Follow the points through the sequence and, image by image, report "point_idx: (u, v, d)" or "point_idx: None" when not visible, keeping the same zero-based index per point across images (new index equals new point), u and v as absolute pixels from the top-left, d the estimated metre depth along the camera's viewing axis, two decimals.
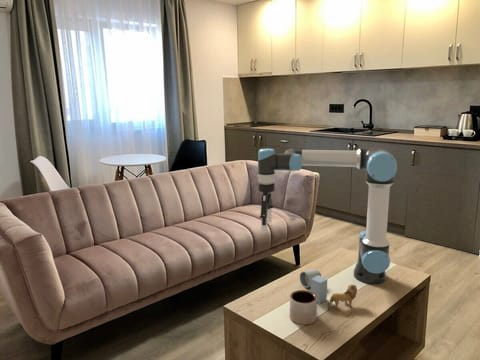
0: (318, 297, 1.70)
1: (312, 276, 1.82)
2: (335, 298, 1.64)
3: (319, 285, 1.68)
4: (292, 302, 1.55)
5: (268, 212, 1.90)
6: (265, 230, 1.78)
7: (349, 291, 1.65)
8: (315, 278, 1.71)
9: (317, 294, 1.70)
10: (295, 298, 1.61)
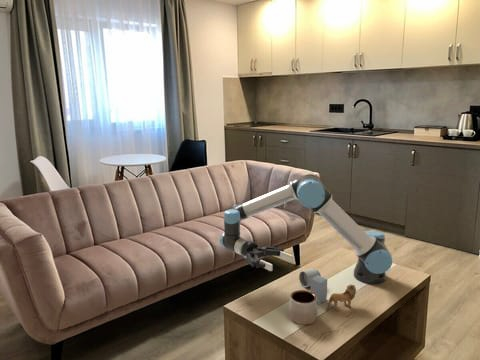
0: (318, 297, 1.70)
1: (311, 276, 1.82)
2: (334, 298, 1.64)
3: (319, 285, 1.68)
4: (292, 302, 1.55)
5: (283, 255, 1.71)
6: (270, 266, 1.59)
7: (348, 291, 1.65)
8: (315, 278, 1.71)
9: (317, 294, 1.70)
10: (295, 298, 1.61)
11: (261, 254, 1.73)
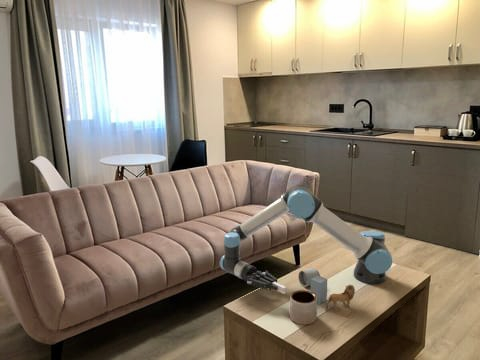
0: (318, 297, 1.70)
1: (311, 275, 1.83)
2: (333, 299, 1.64)
3: (319, 285, 1.68)
4: (292, 302, 1.55)
5: None
6: (282, 289, 1.64)
7: (347, 291, 1.65)
8: (315, 278, 1.71)
9: (317, 294, 1.70)
10: (295, 298, 1.61)
11: None
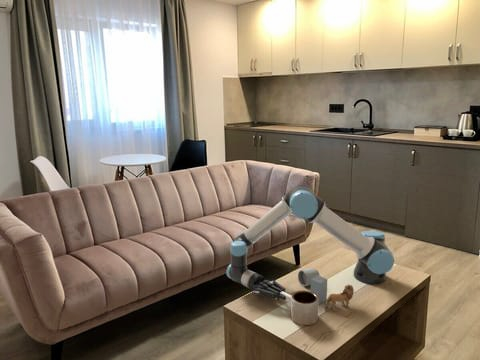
0: (318, 297, 1.70)
1: (310, 275, 1.83)
2: (332, 299, 1.63)
3: (319, 285, 1.68)
4: (293, 302, 1.55)
5: None
6: (290, 299, 1.61)
7: (346, 291, 1.65)
8: (315, 278, 1.71)
9: (317, 294, 1.70)
10: (296, 298, 1.61)
11: None
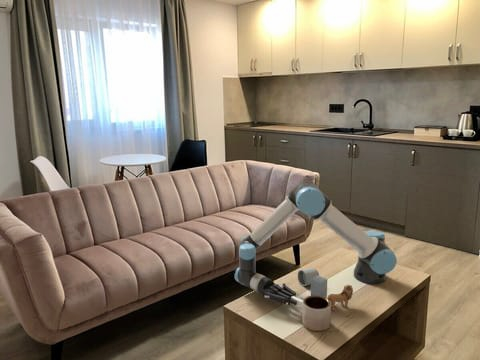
0: None
1: (310, 274, 1.83)
2: (331, 299, 1.63)
3: (319, 285, 1.68)
4: (305, 308, 1.51)
5: None
6: (302, 304, 1.57)
7: (345, 292, 1.65)
8: (315, 278, 1.71)
9: (317, 294, 1.70)
10: (308, 304, 1.57)
11: None
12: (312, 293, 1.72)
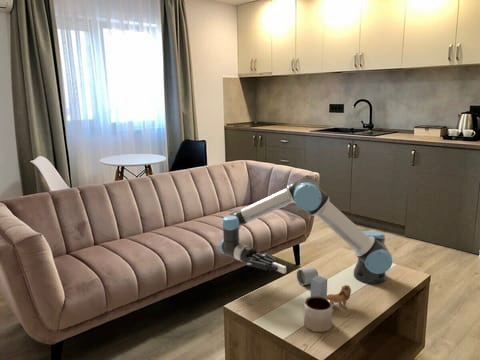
0: None
1: (309, 274, 1.84)
2: (330, 299, 1.63)
3: (319, 285, 1.68)
4: (307, 309, 1.50)
5: None
6: (282, 269, 1.62)
7: (343, 292, 1.65)
8: (315, 278, 1.71)
9: (317, 294, 1.70)
10: (309, 304, 1.57)
11: None
12: (312, 293, 1.72)
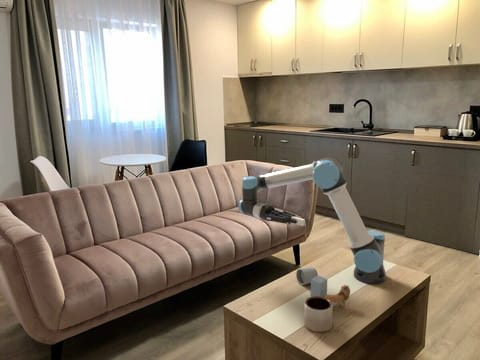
0: None
1: (308, 273, 1.84)
2: None
3: (319, 285, 1.68)
4: (307, 309, 1.50)
5: None
6: (301, 221, 1.72)
7: (342, 292, 1.65)
8: (315, 278, 1.71)
9: (317, 294, 1.70)
10: (309, 304, 1.57)
11: None
12: (312, 293, 1.72)
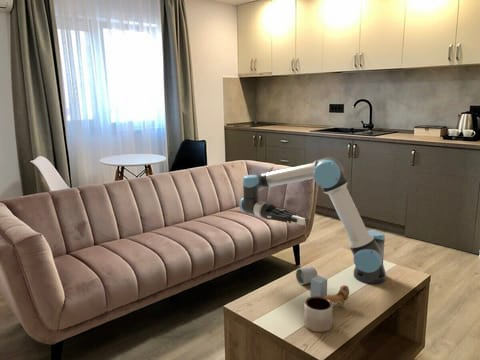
0: None
1: (308, 273, 1.84)
2: None
3: (319, 285, 1.68)
4: (307, 309, 1.50)
5: None
6: (301, 220, 1.72)
7: (342, 292, 1.65)
8: (315, 278, 1.71)
9: (317, 294, 1.70)
10: (309, 304, 1.57)
11: None
12: (312, 293, 1.72)
